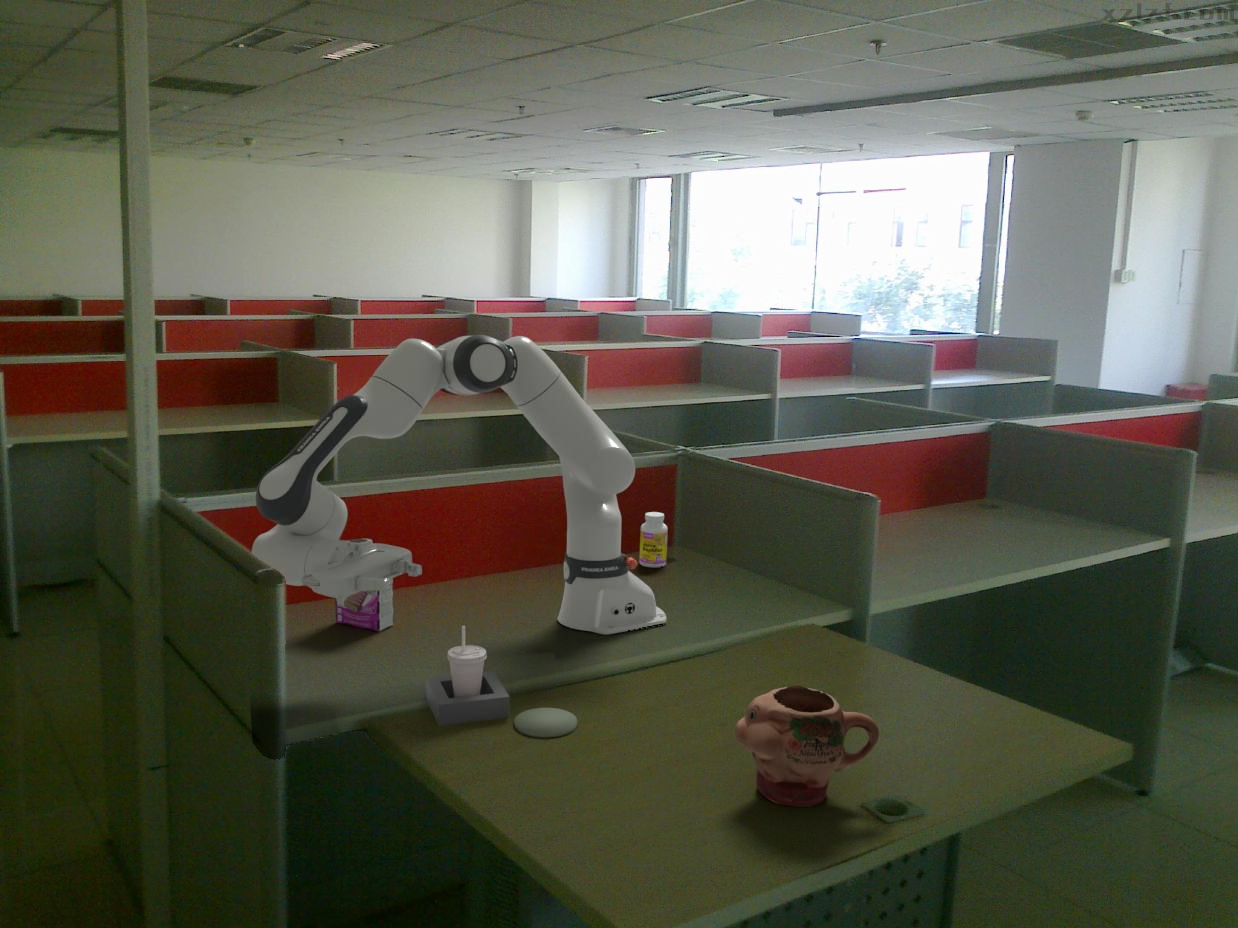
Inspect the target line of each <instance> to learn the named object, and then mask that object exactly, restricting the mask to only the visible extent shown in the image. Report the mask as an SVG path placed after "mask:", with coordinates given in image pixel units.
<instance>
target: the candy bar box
mask: <svg viewBox="0 0 1238 928" xmlns="http://www.w3.org/2000/svg"><path fill="white" fill-rule="evenodd" d="M349 540H350V539H348V540H347V541H349ZM334 601H335V602H334V603H335V623H338V624H342V625H346V626H351V627H355V628H360V629H365V630H371V631H375V632H382V631H384V630H386V629H388V628H390V627H393V626H394V578H391V579H389V588H388V589H386V590H384V591H378V590H369V591H360V592H358V593H355V594H353V595H351V596H348V597H346V598H335V599H334Z"/></svg>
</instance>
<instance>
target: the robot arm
mask: <svg viewBox="0 0 1238 928" xmlns="http://www.w3.org/2000/svg"><path fill="white" fill-rule="evenodd" d="M499 388H500V389H502V391H504V392H505V393H506V394H507V395H508V397H509V398H510V399H511V401H512V402H513V404H514V405H515V406H516V408H518V410H519V412H521V414H522V415H523V417H525V418H526V420H527V421H528V422H529V424H530V425H531V426H532V427H533V428H534V430H535V431H536V432H537V433H538V435H539V436H540V437H541V438H542V439H543V440H544V441H545V442H546V444H548V445H549V446H550V448H551V449H552V450H553V451H554V452H555V453H556V454H557V455H558V456H559V462H560V465H561V473H562V485H563V492H564V499H565V500H564V501H565V506H566V507H565V508H566V522H567V523H566V525H567V527H566V528H567V529H566V552H565V553H564V561H563V579H564V588H563V589H564V591H563V597H562V601H561V605H560V610H559V614H558V616H557V621H558V622H559V623H560V624H561V625H563V626H564V627H567V628H570V629H574V630H580V631H587V632H592V633H595V634H599V635H613V634H617V633H618V634H619V633H623V632H628V630H630V631H633V630H634V629H635V630H639V628H641V629H643V628H642V627H646V628H648V627H647V626H652V625H655V624H661V623H665V622H666V623H667V621H666V620H667V615H666V612H664V610H662V609H661V608H659V607H658V606H657V605H656V597H655V594H654V592H653V590H652V589H651V587H650V586H649V585H647V584H646V583H645V582H644V581H643V580H642V579H640V578H639V577H638V576H636V575H635V574H634V573H633V572H631V571H630V570H629V569H631V570H634V569H636V567H637V566H638V561H637V559H634V558H633V557H632V556H630V557H629V556H627V555H626V554H625V553H622V552H621V551H622V549H621V548H622V514H621V511H620V508H619V503H618V499H617V494H620V493H622V492H624V491H625V490H626V489H628V488H629V486H630V485H631V484H632V483H633V481H634V479H635V475H636V464H635V460H634V458H633V456H632V454H631V453H630V452H629V450H628V449H627V447H626V446H625V445H624V444H623V443H622V442H621V440H619V438H618V437H617V436H616V435H615V433H614V432H612V430H611V429H610V428H609V426H608V425H607V424H605V422H604V421H603V420H602V419H601V418H600V417H599V416H598V415H597V413H596V412H595V411H594V410H593V409H592V408H591V407H590V406H589V404H587V403H586V401H585V400H584V399H583V398H582V397H581V395H580V394H579V393H578V392H577V390H576V389H575V388H574V386H573V385H572V384H571V382H570V381H569V380H568V378H567V377H566V376H565V374H564V373H563V372H562V371H561V369H560V368H559V367H558V366H557V364H556V363H555V362H554V361H553V359H551V357H549V355H548V354H547V353H546V352H545V351H544V350H543V349H542V348H541V347H539V346H538V344H536V343H535V342H534V341H533V340H532V339H530V338H529V337H527V336H522V335H516V336H513V337H509V338H507V339H506V340H503V341H501V340H499V339H497V338H495V337H492V336H488V335H485V334H474V335H464V336H459V337H456V338H455V339H452V340H447V341H445V342H442V343H441V344H439V345H436V346H434V345H432V344H431V343H430V342H427V341H426V340H423V339H421V338H420V339H419V338H407V339H405V340H404V341H402V342H400V343H399V344H398V345H397V346H396V347H395V348H394V349H393V350H392V351H391V352H390V353H389V354H388V355H387V356H386V358H384V360H383V361H382V362H381V363H380V365H379V366H378V367H377V368H376V370H374V372H373V374H372V375H371V377H370V378H369V379H368V380H367V382H366V383H365V384H364V385H363V386H362V387H361V388H360V389H359V390H357V392H356V393H355V392H354V394H351V395H347V396H344V397H343V398H341V399H339V400H338V401H337V402H336V403H335V404H334V405H332V406H331V407H330V408H329V409H328V410H327V411H326V413H325V414H324V415H322V416H321V418H320V419H319V420H318V421H317V422H316V423H315V424H314V425H313V426H312V428H311V429H309V431H308V432H307V433H306V434H305V435H304V436H303V438H302V439H301V440H299V442H298V443H297V444H296V445H295V446H294V447H293V448H292V449H291V451H289V453H288V454H287V455H286V456H285V457H284V458H282V459H281V460H280V461H279V462H278V463H276V464H275V465H274V466H272V467H271V468H270V469H268V470H267V471H266V473H264V474H263V476H262V477H261V478H260V480H259V482H258V484H257V487H256V491H255V504H256V509H257V510H258V512H259V514H260V515H261V516H262V517H264V518H265V519H267V520H268V521H271V522H274V523H275V524H276V525H275V526H274V527H272V528H271V529H269V530H268V531H266V532H264V533H261V534H259V535H258V536H257V537H256V538H255V540H254V542H253V544H252V548H251V555H252V554H253V555H254V556H255V557H257V558H258V559H259V560H261V561H263V562H264V563H266V564H268V565H269V566H271V568H274V569H276V570H277V571H279V572H280V573H281V574H282V575H283V576H284V577H285V580H286V584H285V585H289V586H295V587H296V586H297V587H301V586H306V587H309V588H310V589H312V591H313V592H314V593H316V594H319V595H323V596H325V597H329V598H346V597H348V596H351V595H353V594H355V593H358V592H360V591H369V590H378V591H384V590H386V589H388V588H389V579H391V578H393V579H394V578H396V577H398V576H400V575H402V574H405V573H406V574H408V576H409V577H414V578H415V577H418V576H421V575H422V574H423V568H422V567H423V566H422V565H421V564H417V563H414V562H413V554H412V552H411V550H409V549H407V548H405V547H400V546H397V545H396V546H395V545H390V544H388V543H387V544H386V543H378V542H376V543H373V540H372V539H370V538H358V539H357V538H356V539H348V540H349V541H348V540H345V539H344V540H343V539H341V537H342V535H343V534H344V531H345V529H346V526H347V523H348V520H349V519H348V518H349V511H348V507H347V505H346V503H345V501H344V500H343V499H342V498H340V497H339V496H338V495H336V494H335V492H334V491H331V490H330V489H329V488H327V487H326V486H325V485H323V484H321V483H320V482H319V481H318V480H317V479H318V475H319V473H320V472H321V471H322V470H323V468H325V466H326V465H327V464H328V463H329V461H331V460H332V458H333V457H334V456H335V455H336V454H337V453H338V451H340V449H341V448H342V447H343V446H344V445H345V444H346V443H347V442H349V441H350V440H353V439H354V438H358V437H368V438H373V439H380V440H390V439H395V438H398V437H402V436H403V435H405V434H406V433H407V432H408V431H409V430H410V429H411V428H412V427H413V426H414V424H415V423H416V422H417V420H418V419H419V417H420V416H421V414H422V413H423V411H424V410H425V408H426V406H427V405H428V403H429V402H430V401H431V398H432V397H434V395H435V394H437V392H439V391H440V392H443V393H445V394H449V395H454V396H460V395H461V396H475V395H478V394H484V393H489V392H493V391H495V390H497V389H499ZM666 623H665V624H666ZM652 627H653V626H652Z"/></svg>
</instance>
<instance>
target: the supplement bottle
mask: <svg viewBox="0 0 1238 928" xmlns="http://www.w3.org/2000/svg"><path fill="white" fill-rule="evenodd" d="M644 520H645V522H644V523H642V524H641V526H640V535H639V537H640V538H639V540H640V541H639V559H638V560H639V564H640V565H641V566H642V567H646V568H654V569H655V568H656V569H657V568H662V567H665V566H666V564H667V552H668V551H667V550H668V525H666V524H665V523H664V520H665V514H664V513H663V512H658V511H651V512H650V511H649V512H645V514H644ZM661 566H662V567H661Z"/></svg>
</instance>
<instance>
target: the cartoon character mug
mask: <svg viewBox="0 0 1238 928" xmlns="http://www.w3.org/2000/svg"><path fill="white" fill-rule="evenodd" d="M853 728H860V729H861V728H862V729H864V730H865V732H866V733H867V735H868V741H867V743H866V744H865V745H864V746H863V747H862V748H860V750H858V751H857V752H854V753H852V752H848V751H847V750H846V748H845V739H846V735H847V733H848V732H849V731H850V730H851V729H853ZM734 736H735V739H736V741H737V742H738V743H739V744H740V745H741V746H743V747H744V748H745V749H746V750H748V751H749V752H750V753H751V754H752V757H753V759H754V761H755V763H756V766H757V767H756V780H755V781H756V782H755V783H756V787H757V790H758V791H759V793H760V794H761V795H762V796H763V797H765V798H766V799H767V800H770V801H771V802H773V803H775V804H779V805H783V806H784V805H785V806H790V807H797V808H798V807H812V806H815V805H818V804H821V803H822V802H823V801H824V799H825V798H826V796H827V793H828V786H829V781H830V775H831V774H832V772H833V771H835V772H837V773H840V772H842V771H844V770H846V769H848V768H851V767H852V766H854V765H856V764H857V763H859V762H860V761H861V760H863V759H864V758H865V757H866V756H867V755H868V754H869V753H870V752H871V751H872V750H873V749H874V747H875V746H876V745H877V744H878V741H879V737H880V730H879V727H878V726H877V723H876V721H874V719H873V718H872V717H870V716H869V715H867V714H865V713H860V712H856V711H844V710H843V709H841V705H840V703H839V702H838V701H837V699H836V698H834V697H833V696H832V695H830V694H828V693H826V692H824V691H821V690H819V689H814V688H810V687H804V686H803V685H791V686H790V685H789V686H785V687H780V688H774V689H772V690H770V691H768V692H767V693H764V694H760V695H759V696H756V697H754V698H753V699H752V701H751V702H750V703H749V705H748V706H747V708H746V712H745V715H744V716H743V717H742V718H741V719H739V720H738V721H737V723H736V724H735V727H734Z"/></svg>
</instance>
